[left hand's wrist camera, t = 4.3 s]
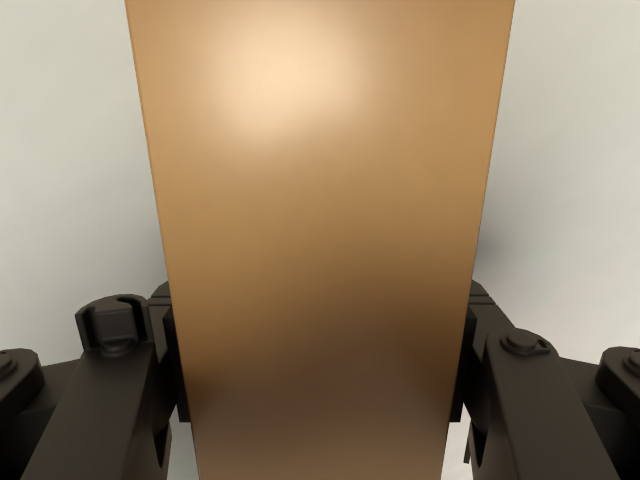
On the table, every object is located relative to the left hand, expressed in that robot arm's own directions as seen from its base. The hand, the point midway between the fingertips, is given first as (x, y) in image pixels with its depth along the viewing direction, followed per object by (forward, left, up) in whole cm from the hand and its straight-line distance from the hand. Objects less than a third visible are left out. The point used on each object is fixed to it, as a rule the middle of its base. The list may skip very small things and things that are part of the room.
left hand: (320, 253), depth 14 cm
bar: (+7, +4, -1) cm, 8 cm away
